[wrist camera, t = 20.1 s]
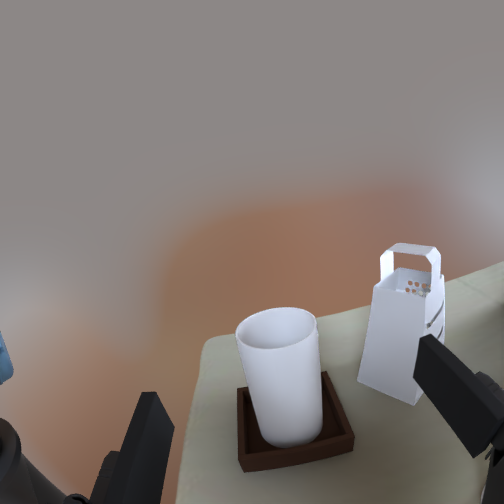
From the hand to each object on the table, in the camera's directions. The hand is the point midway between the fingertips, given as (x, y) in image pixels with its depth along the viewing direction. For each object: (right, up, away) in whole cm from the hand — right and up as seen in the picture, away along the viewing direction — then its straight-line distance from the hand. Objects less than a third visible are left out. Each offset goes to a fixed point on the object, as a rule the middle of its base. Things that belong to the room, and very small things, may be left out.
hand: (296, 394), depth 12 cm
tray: (+3, -16, +20) cm, 26 cm away
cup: (+3, -16, +19) cm, 25 cm away
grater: (+21, -12, +24) cm, 34 cm away
